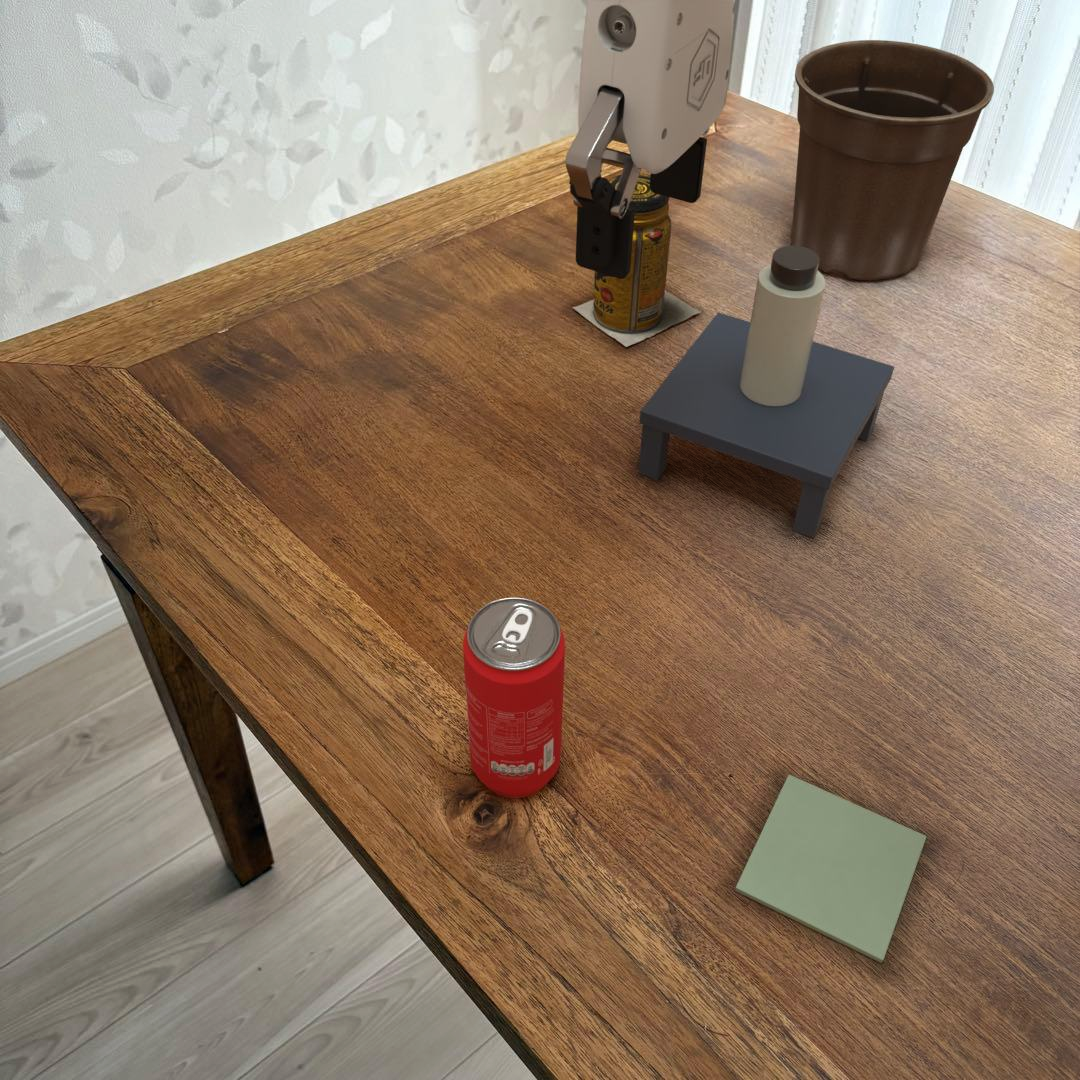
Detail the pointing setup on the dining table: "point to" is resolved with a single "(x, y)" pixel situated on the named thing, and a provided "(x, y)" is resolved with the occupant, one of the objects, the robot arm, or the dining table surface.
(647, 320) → the condiment
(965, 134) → the plant pot
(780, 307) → the spice bottle
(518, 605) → the beverage can
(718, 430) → the grey miniature table
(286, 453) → the dining table surface
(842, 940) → the coaster
